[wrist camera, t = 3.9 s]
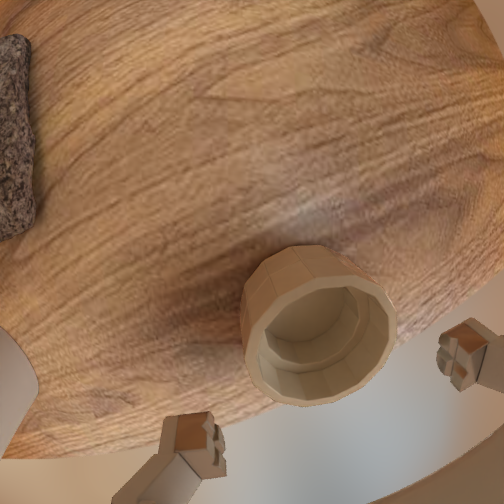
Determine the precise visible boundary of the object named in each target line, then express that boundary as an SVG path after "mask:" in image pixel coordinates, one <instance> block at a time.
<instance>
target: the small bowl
mask: <svg viewBox="0 0 504 504" xmlns="http://www.w3.org/2000/svg"><path fill="white" fill-rule="evenodd" d="M239 315H240V325H241V335H242V345H243V354H244V361H245V364H246V367H247V369H248V372H249V375H250V378H251V380H252V383H253V385H254V386H255V387H256V388H258V389H259V390H260V391H262V392H263V393H264V394H266V395H267V396H268V397H270V398H271V399H272V400H274V401H276V402H279V403H284V404H289V405H294V406H299V407H309V406H316V405H322V404H327V403H333V402H335V401H338V400H340V399H341V398H343V397H346V396H348V395H349V394H351V393H353V392H355V391H357V390H359V389H361V388H362V387H364V386H365V385H366V384H367V383H368V382H369V381H370V380H371V379H372V378H373V377H374V376H375V375H376V374H377V373H378V372H379V371H380V369H382V367H383V366H384V365H385V363H386V361H387V359H388V357H389V355H390V353H391V351H392V349H393V346H394V344H395V342H396V340H397V310H396V308H395V306H394V305H393V303H392V301H391V300H390V298H389V297H388V295H387V293H386V292H385V290H384V289H383V287H381V286H380V285H379V284H378V283H377V282H376V281H374V280H373V279H372V278H371V277H370V276H368V275H367V274H366V273H365V272H364V271H363V270H361V269H360V268H359V267H358V266H356V265H355V264H354V263H353V262H352V261H350V260H349V259H348V258H347V257H345V256H344V255H342V254H340V253H338V252H336V251H333V250H331V249H329V248H327V247H325V246H323V245H305V246H292V247H291V246H290V247H288V248H286V249H284V250H282V251H280V252H278V253H276V254H275V255H273V256H271V257H269V258H267V259H265V260H264V261H263V262H262V263H261V264H260V265H259V266H258V268H257V269H256V270H255V272H254V273H253V274H252V275H251V277H250V278H249V279H248V280H247V282H246V283H245V285H244V288H243V293H242V298H241V303H240V308H239Z"/></svg>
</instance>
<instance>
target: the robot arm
mask: <svg viewBox="0 0 504 504" xmlns="http://www.w3.org/2000/svg"><path fill="white" fill-rule="evenodd" d="M438 343H439V344H440V346H441V347H440V348H439V350H438V352H437V357H436V361H437V365H438V367H439V369H440V371H441V372H442V373H443V374H444V375H446V376H450V382H451V383H452V384H453V385H454V387H456V389H457V390H458V391H459V392H461V391H463V390H465V389H466V388H468V387H470V386H471V385H473V384H474V383H476V382H477V384H480V385H483V386H485V387H488V388H491V389H493V390H496V391H499V392H501V393H504V335H500V336H497V335H496V334H495V333H493V332H492V331H491V330H489V329H488V328H487V327H485V326H484V325H483V324H481V323H480V322H479V321H477V320H476V319H475V318H469V319H467V320H465V321H464V322H462V323H461V324H458V325H456V326H455V327H453V328H451V329H449V330H447V331H446V332H444V333H442V334H441V335H440V337H439V342H438ZM224 451H225V441H224V436H223V434H222V431H221V429H220V427H219V426H218V425H216V424H214V416H213V415H212V413H211V412H210V411H206V412H199V413H191V414H183V415H176V416H166V418H165V419H164V421H163V427H162V433H161V439H160V445H159V451H158V454H154V455H153V456H152V457H151V458H150V459H149V460H148V461H147V462H146V463H145V464H144V465H143V466H142V468H141V469H140V470H139V471H138V472H137V473H136V474H135V475H134V476H133V477H132V478H131V479H130V480H129V481H128V482H127V483H126V484H125V485H124V486H123V487H122V488H121V489H120V490H119V491H118V492H117V493H116V494H115V495H114V496H113V497H112V501H111V504H188V502H189V501H190V499H191V498H192V496H193V495H194V493H195V491H196V490H197V488H198V487H199V485H200V483H201V482H202V480H203V479H211V478H218V477H225V476H227V475H226V460H225V459H224V457H223V456H222V454H223V453H224ZM368 504H504V424H503V425H502V426H500V427H499V428H498V429H497V430H495V431H494V432H493V433H492V434H490V435H489V436H488V437H486V438H485V439H484V440H483V441H481V442H480V443H478V444H477V445H476V446H474V447H473V448H471V449H470V450H468V451H467V452H466V453H464V454H463V455H461V456H460V457H458V458H457V459H455V460H454V461H452V462H450V463H449V464H447V465H446V466H444V467H442V468H440V469H439V470H437V471H435V472H433V473H432V474H430V475H428V476H426V477H424V478H423V479H421V480H419V481H417V482H415V483H413V484H411V485H409V486H407V487H405V488H403V489H401V490H399V491H396V492H394V493H392V494H390V495H387V496H385V497H383V498H381V499H378V500H376V501H373V502H371V503H368Z"/></svg>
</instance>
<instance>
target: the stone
mask: <svg viewBox="0 0 504 504" xmlns="http://www.w3.org/2000/svg"><path fill="white" fill-rule="evenodd" d="M30 57H31V43H30V41H29V40H28V39H27V38H26V37H24V36H23V35H20V34H13V35H8V36H5V37H2V38H0V242H2V241H4V240H7V239H11V238H12V237H13V236H14V235H17V234H20V233H23V232H24V231H25V230H27V229H30V228H31V227H33V225H34V221H35V217H36V201H35V199H34V195H33V191H32V171H33V164H34V158H33V156H34V149H35V143H36V139H35V135H33V134H32V130H31V127H30V124H29V122H28V120H29V110H30V106H29V102H28V90H29V80H28V71H29V64H30Z"/></svg>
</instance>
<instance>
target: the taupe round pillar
mask: <svg viewBox="0 0 504 504" xmlns="http://www.w3.org/2000/svg"><path fill="white" fill-rule="evenodd" d="M38 392H39V385H38V380H37V377H36V374H35V372H34V369H33V367H32V365H31V364H30V362H29V360H28V358H27V357H26V355H25V354H24V352H23V351H22V350H21V348H20V347H19V346H18V344H17V343H16V342H15V341H14V340H13V338H12V337H11V336H10V335H9V334H8V333H7V332H6V331H5V330H4V329H3V328H1V327H0V459H1V458H2V456H3V454H4V452H5V450H6V448H7V446H8V444H9V443H10V441H11V439H12V437H13V435H14V434H15V432H16V430H17V428H18V427H19V425H20V423H21V421H22V420H23V418H24V416H25V415H26V413H27V411H28V410H29V408H30V407H31V405H32V403H33V402H34V400H35V399H36V397H37V395H38Z"/></svg>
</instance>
